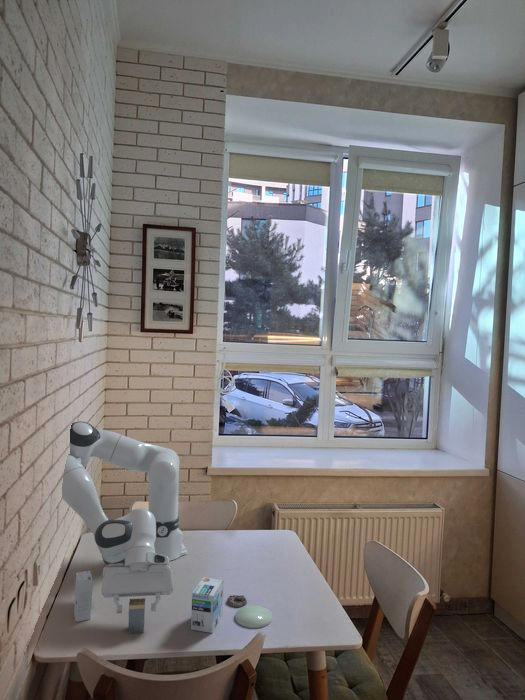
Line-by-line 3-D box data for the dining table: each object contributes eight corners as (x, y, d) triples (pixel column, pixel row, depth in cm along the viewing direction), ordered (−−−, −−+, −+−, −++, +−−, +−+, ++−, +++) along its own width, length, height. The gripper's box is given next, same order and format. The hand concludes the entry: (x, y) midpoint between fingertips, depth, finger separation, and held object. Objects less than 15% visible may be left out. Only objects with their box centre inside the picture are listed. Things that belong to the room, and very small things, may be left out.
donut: (252, 608, 165) (253, 602, 165) (229, 613, 162) (229, 606, 162) (243, 596, 172) (243, 589, 172) (220, 600, 169) (220, 594, 169)
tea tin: (129, 626, 151) (129, 599, 151) (144, 625, 152) (145, 598, 152) (128, 634, 148) (128, 605, 147) (143, 633, 148) (144, 604, 148)
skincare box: (73, 612, 158) (74, 572, 157) (89, 609, 160) (90, 569, 159) (75, 622, 152) (76, 581, 152) (91, 619, 154) (93, 578, 154)
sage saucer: (233, 610, 163) (233, 606, 163) (268, 608, 165) (268, 604, 165) (237, 630, 152) (238, 626, 152) (275, 628, 154) (275, 624, 154)
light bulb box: (212, 634, 149) (214, 596, 149) (189, 630, 150) (191, 592, 150) (223, 614, 160) (224, 579, 159) (201, 611, 161) (202, 576, 161)
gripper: (102, 559, 154) (97, 609, 145) (174, 557, 158) (172, 606, 148) (104, 567, 159) (98, 617, 150) (173, 565, 162) (172, 613, 153)
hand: (136, 611), depth 149 cm, fingers open, 8 cm apart
